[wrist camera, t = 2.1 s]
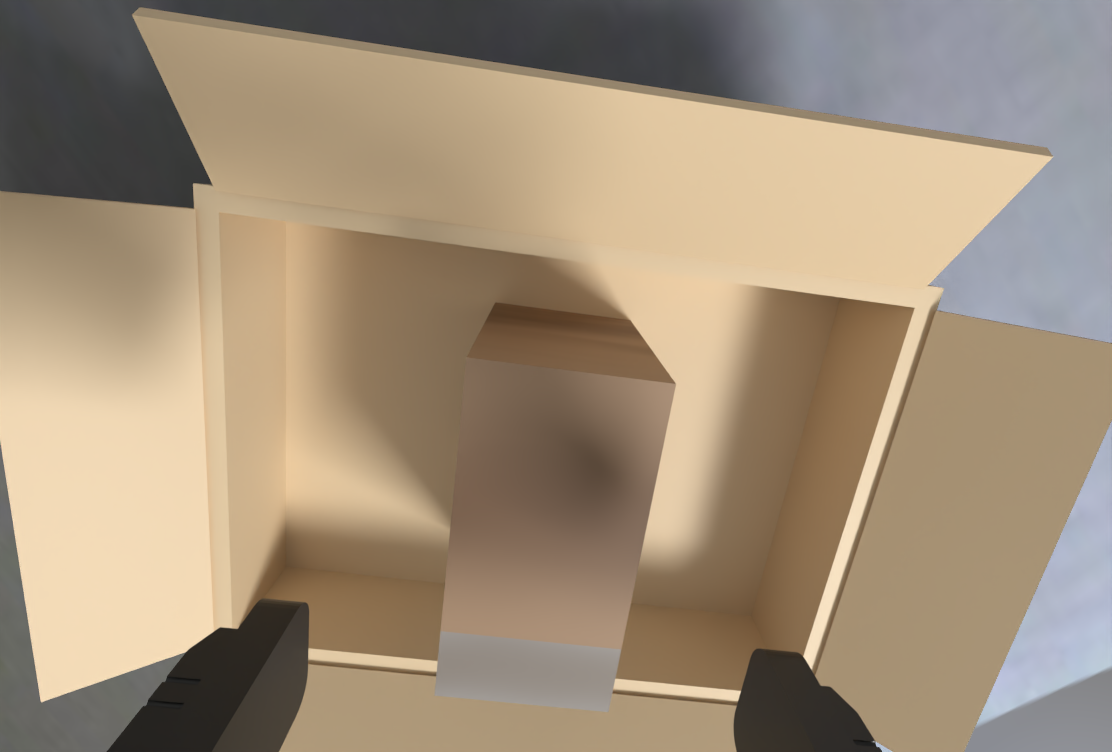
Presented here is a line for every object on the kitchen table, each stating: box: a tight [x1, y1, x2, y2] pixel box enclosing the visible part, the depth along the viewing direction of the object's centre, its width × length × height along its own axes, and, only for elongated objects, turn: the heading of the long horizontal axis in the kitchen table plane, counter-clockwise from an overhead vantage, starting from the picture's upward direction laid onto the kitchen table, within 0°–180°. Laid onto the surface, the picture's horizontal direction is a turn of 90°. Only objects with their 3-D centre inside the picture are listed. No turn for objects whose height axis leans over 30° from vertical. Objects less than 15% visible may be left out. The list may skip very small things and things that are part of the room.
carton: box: [0, 7, 1112, 752], centre depth 17 cm, size 20×26×7 cm
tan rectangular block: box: [434, 302, 676, 712], centre depth 17 cm, size 9×4×7 cm, turn 172°
